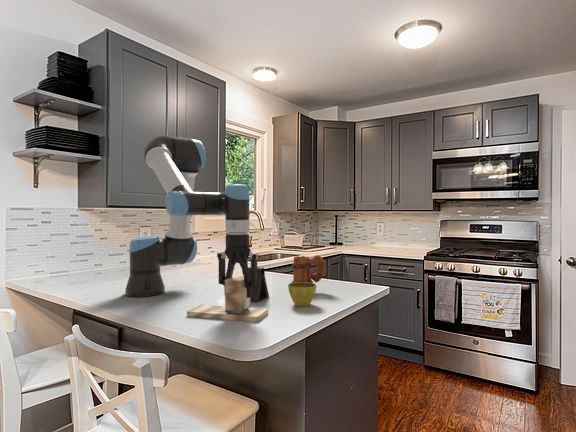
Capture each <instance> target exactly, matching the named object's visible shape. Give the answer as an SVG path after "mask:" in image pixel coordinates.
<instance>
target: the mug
mask: <svg viewBox="0 0 576 432" xmlns="http://www.w3.org/2000/svg"><path fill="white" fill-rule="evenodd" d="M312 264H313V265H315V266H316V267H318V268H317V272H316V274H314V273H311V268H313V265H312ZM291 268H292V269H293V270H292V271H293V274H292V275H293V277H292V278H293V280H292V281H291V282H290V283H294V282H308V283H314V282H315V283H318V282H320V281H321V280H322V279H323V277H324V275H325V272H326V263H325V260H324V258H323V257H322V256H321V255H318V254H317V255H314V256H313V257H312V258H310V257H309V256H305V255H303V256H301V255H300V256H294V257H293V263H292V264H291Z"/></svg>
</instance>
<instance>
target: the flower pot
mask: <svg viewBox="0 0 576 432" xmlns="http://www.w3.org/2000/svg"><path fill="white" fill-rule="evenodd" d="M287 287H288V293H289V296H290V298H291V300H292V302H293V304H294V306H297V307H308V306H310V304H311V303H312V302H313V299H314V297H315V294H316V291H317V284H316V283H314V282H313V283H308V282H294V283H291V282H290V283H288V284H287Z"/></svg>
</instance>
